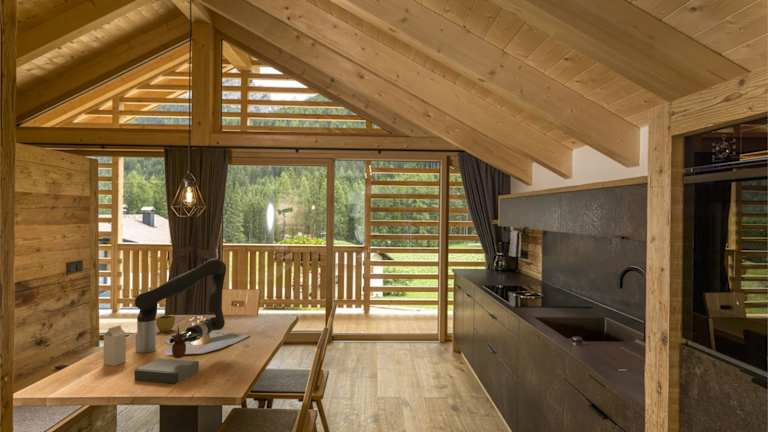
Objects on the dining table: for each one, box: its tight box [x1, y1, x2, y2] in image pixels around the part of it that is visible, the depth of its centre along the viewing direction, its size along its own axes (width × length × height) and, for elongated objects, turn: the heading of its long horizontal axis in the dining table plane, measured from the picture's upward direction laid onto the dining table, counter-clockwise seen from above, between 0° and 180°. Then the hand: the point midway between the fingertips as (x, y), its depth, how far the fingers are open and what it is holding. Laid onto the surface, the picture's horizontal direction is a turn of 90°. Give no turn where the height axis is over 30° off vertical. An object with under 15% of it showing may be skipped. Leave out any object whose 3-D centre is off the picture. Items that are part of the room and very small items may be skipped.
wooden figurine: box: [171, 325, 187, 359], centre depth 223 cm, size 7×6×15 cm
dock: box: [133, 357, 200, 385], centre depth 222 cm, size 22×17×5 cm
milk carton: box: [103, 324, 127, 367], centre depth 239 cm, size 7×7×19 cm
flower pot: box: [156, 314, 176, 333], centre depth 303 cm, size 9×9×9 cm
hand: (175, 341), depth 221 cm, fingers closed on wooden figurine, 4 cm apart
